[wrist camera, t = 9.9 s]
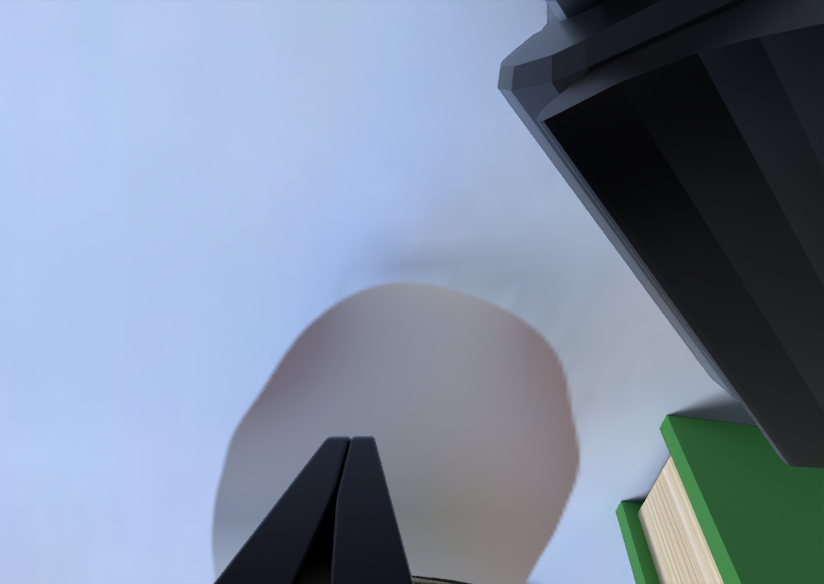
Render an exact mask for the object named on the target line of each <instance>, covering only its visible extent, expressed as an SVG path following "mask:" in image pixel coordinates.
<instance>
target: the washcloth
mask: <svg viewBox="0 0 824 584" xmlns="http://www.w3.org/2000/svg"><path fill="white" fill-rule="evenodd" d="M412 579H413V583H414V584H471V583H466V582H460V581H455V580H448V579H441V578H435V577H423V576H413V575H412Z"/></svg>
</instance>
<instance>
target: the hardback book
mask: <svg viewBox="0 0 824 584" xmlns="http://www.w3.org/2000/svg"><path fill="white" fill-rule="evenodd" d="M660 431H661V433H662V436H663V438H664V440H665V443H666V445H667V448H668V450H669V453H670V455H671V456H670V457H669V459H668V461H667V463H666V464H665V466H664V468H663V470H662V471H661V473H660V475H659V477H658V478H657V480H656V482H655V484H654V486H653V487H652V489H651V491H650V493H649V494H648V496H647V498H646V500H645V501H644V503H643V504H642V503H634V502H625V501H621V503H620V505H619V506H618V508H617V510H616V514H617V518H618V521H619V525H620V528H621V532H622V535H623V539H624V543H625V546H626V550H627V553H628V557H629V560H630V564H631V567H632V571H633V575H634V578H635V582H636V584H824V468H811V467H795V466H789V465H787V464H785V463H784V462H783V461H782V460H781V458H780V457H779V456H778V454H777V453H776V451H775V450H774V449H773V447H772V446H771V444H770V443H769V442H768V440H767V439H766V437H765V436H764V435H763V433H762V432H761V431H760V429H759V428H758V426H752V425H744V424H736V423H728V422H720V421H712V420H704V419H696V418H688V417H680V416H672V415H667V416H666V418H665V419H664V421H663V423H662V425H661V427H660Z"/></svg>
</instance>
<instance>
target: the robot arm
mask: <svg viewBox="0 0 824 584" xmlns="http://www.w3.org/2000/svg"><path fill="white" fill-rule="evenodd" d="M546 2H547V24H546V25H545V27H544V28H543V29H542V30H541V31H540V32H538V33H536V34H534V35H532V36H531V37H530V38H529V39H528V40H526V41H525V42H524V43H523V44H522V45H520V46H519V47H518V48H517V49H516V50H514V51H513V52H512V53H511V54H510V55H508V56H507V57H506V58H505V59H504V60H503V61H502V63H501V67H500V73H499V79H498V89H499V90H500V91H501V93H502V94H503V96H504V97H505V98H506V100H507V102H508V103H509V104H510V106H511V107H512V108H513V110H514V111H515V112H516V114H517V115H518V117H519V118H520V119H521V121H522V122H523V123H524V125H525V126H526V127H527V129H528V130H529V132H530V133H531V134H532V136H533V137H534V138H535V140H536V141H537V142H538V144H539V145H540V147H541V148H542V149H543V151H544V152H545V153H546V155H547V156H548V157H549V159H550V160H551V162H552V163H553V164H554V166H555V167H556V168H557V170H558V171H559V172H560V174H561V175H562V176H563V178H564V179H565V181H566V182H567V183H568V185H569V186H570V187H571V189H572V190H573V191H574V193H575V194H576V196H577V197H578V198H579V200H580V201H581V202H582V204H583V205H584V206H585V208H586V209H587V211H588V212H589V213H590V215H591V216H592V217H593V219H594V220H595V221H596V223H597V224H598V226H599V227H600V228H601V230H602V231H603V232H604V234H605V235H606V236H607V238H608V239H609V240H610V242H611V243H612V245H613V246H614V247H615V249H616V250H617V251H618V253H619V254H620V255H621V257H622V258H623V260H624V261H625V262H626V264H627V265H628V266H629V268H630V269H631V270H632V272H633V273H634V275H635V276H636V277H637V279H638V280H639V281H640V283H641V284H642V285H643V287H644V288H645V290H646V291H647V292H648V294H649V295H650V296H651V298H652V299H653V300H654V302H655V303H656V305H657V306H658V307H659V309H660V310H661V311H662V313H663V314H664V315H665V317H666V318H667V319H668V321H669V322H670V324H671V325H672V326H673V328H674V329H675V330H676V332H677V333H678V334H679V336H680V337H681V339H682V340H683V341H684V343H685V344H686V345H687V347H688V348H689V349H690V351H691V352H692V354H693V355H694V356H695V358H696V359H697V360H698V361H699V363H700V364H701V365H702V367H703V368H704V369H705V371H706V372H707V373H708V375H709V376H710V377H711V378H712V379H713V380H714V381H715V382H716V383H717V384H719V385H720V386H721V387H722V388H723V389H724V390H726V391H727V392H728V393H729V394H730V395H731V396H732V397H734V398H736V399H738V400H739V401H740V403H741V404H742V406H743V407H744V408H745V410H746V411H747V412H748V414H749V415H750V417H751V418H752V419H753V421H754V422H755V424H756V425H757V426H758V428H759V429H760V431H761V432H762V433H763V435H764V436H765V437H766V439H767V440H768V442H769V443H770V444H771V446H772V447H773V449H774V450H775V451H776V453H777V454H778V456H779V457H780V458H781V460H782V461H783V462H784V463H785V464H787V465H789V466H795V467H811V468H824V0H546ZM214 584H414V583H413V579H412V575H411V572H410V568H409V564H408V560H407V557H406V553H405V549H404V545H403V542H402V538H401V534H400V531H399V527H398V523H397V520H396V516H395V512H394V508H393V504H392V501H391V497H390V493H389V489H388V486H387V482H386V478H385V474H384V471H383V467H382V463H381V460H380V456H379V452H378V448H377V445H376V441H375V438H374V437H373V436H354V437H352V439H351V438H350V437H347V436H331V437H328V438H327V439H326V440H325V441H324V442H323V444H322V445H321V446H320V448H319V449H318V450H317V451H316V452H315V454H314V455H313V456H312V458H311V459H310V460H309V461H308V463H307V464H306V465H305V467H304V468H303V469H302V471H301V472H300V473H299V474H298V476H297V477H296V478H295V480H294V481H293V482H292V483H291V485H290V486H289V487H288V489H287V490H286V491H285V493H284V494H283V495H282V496H281V498H280V499H279V500H278V501H277V503H276V504H275V505H274V507H273V508H272V509H271V511H270V512H269V513H268V514H267V516H266V517H265V518H264V520H263V521H262V522H261V524H260V525H259V526H258V527H257V529H256V530H255V531H254V533H253V534H252V535H251V536H250V538H249V539H248V540H247V541H246V543H245V544H244V546H243V547H242V548H241V549H240V551H239V552H238V553H237V555H236V556H235V557H234V558H233V560H232V561H231V562H230V563H229V565H228V566H227V567H226V569H225V570H224V571H223V572H222V574H221V575H220V576H219V578H218V579H217V580H216V581H215V583H214Z"/></svg>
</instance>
